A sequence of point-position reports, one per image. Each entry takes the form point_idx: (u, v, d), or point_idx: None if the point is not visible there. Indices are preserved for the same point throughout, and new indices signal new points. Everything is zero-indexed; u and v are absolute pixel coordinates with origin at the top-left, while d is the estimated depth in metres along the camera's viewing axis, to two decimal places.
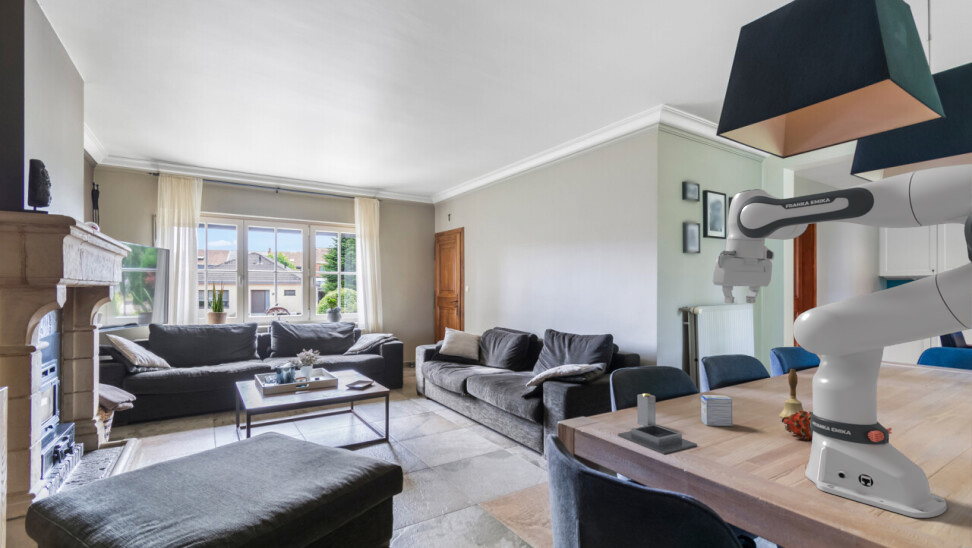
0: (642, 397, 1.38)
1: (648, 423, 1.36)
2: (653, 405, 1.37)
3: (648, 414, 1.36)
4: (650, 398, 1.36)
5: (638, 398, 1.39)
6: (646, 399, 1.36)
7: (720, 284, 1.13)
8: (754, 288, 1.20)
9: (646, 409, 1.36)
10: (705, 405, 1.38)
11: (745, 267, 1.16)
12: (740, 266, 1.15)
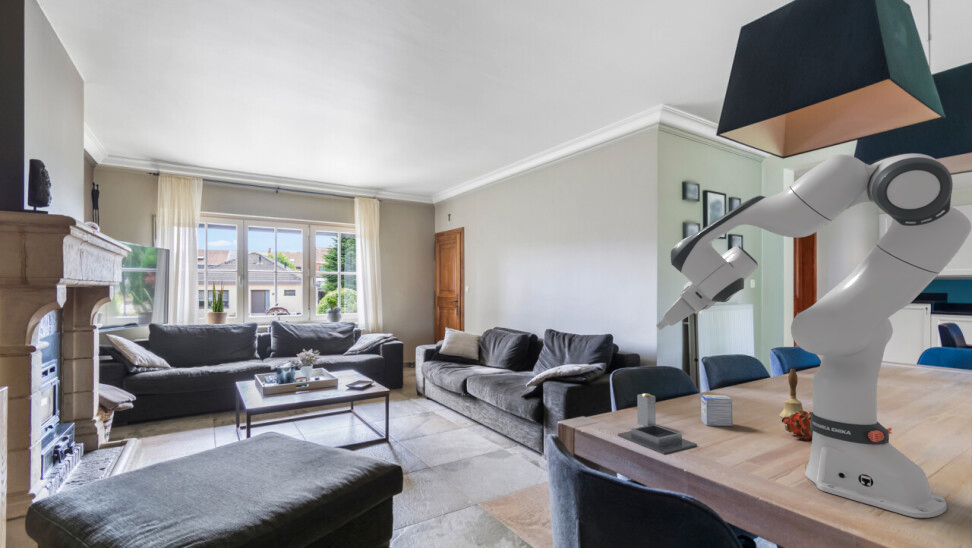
0: (642, 397, 1.38)
1: (648, 423, 1.36)
2: (653, 405, 1.37)
3: (648, 414, 1.36)
4: (650, 398, 1.36)
5: (638, 398, 1.39)
6: (646, 399, 1.36)
7: None
8: None
9: (646, 409, 1.36)
10: (705, 405, 1.38)
11: None
12: None
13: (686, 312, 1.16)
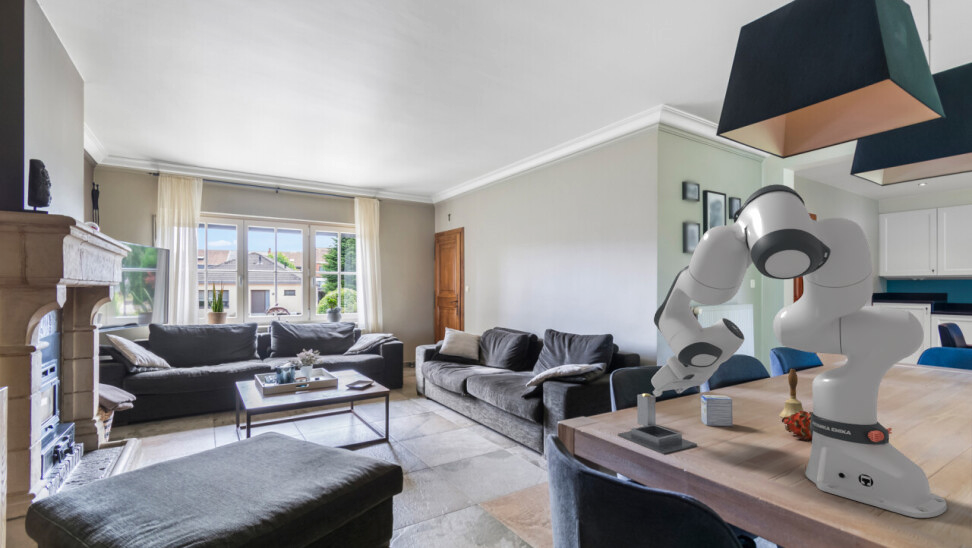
0: (642, 397, 1.38)
1: (648, 423, 1.36)
2: (653, 405, 1.37)
3: (648, 414, 1.36)
4: (650, 398, 1.36)
5: (638, 398, 1.39)
6: (646, 399, 1.36)
7: None
8: None
9: (646, 409, 1.36)
10: (705, 405, 1.38)
11: None
12: None
13: (668, 378, 1.19)
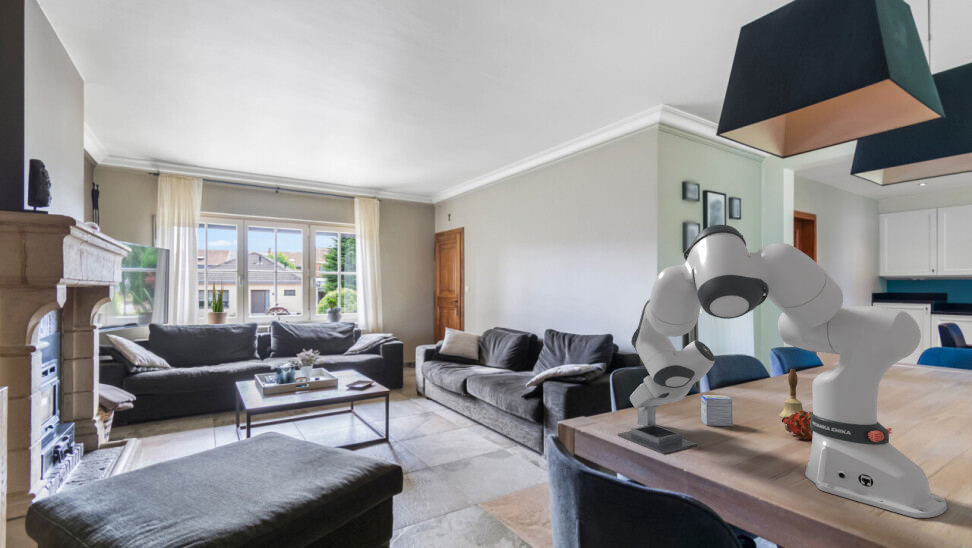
0: None
1: (648, 423, 1.36)
2: None
3: (648, 414, 1.36)
4: None
5: None
6: None
7: None
8: None
9: (646, 409, 1.36)
10: (705, 405, 1.38)
11: None
12: None
13: (645, 396, 1.27)
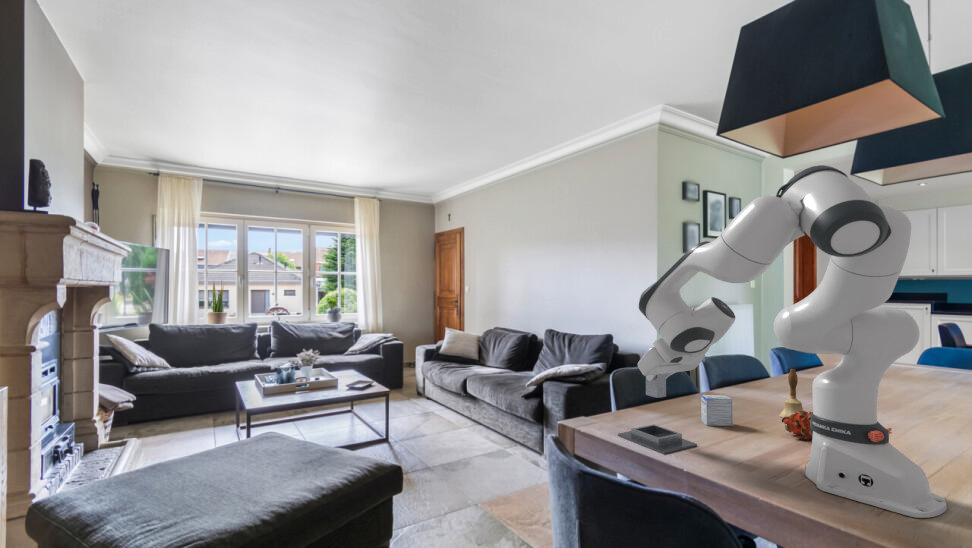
0: None
1: (658, 394, 1.21)
2: (663, 374, 1.23)
3: (657, 384, 1.22)
4: None
5: None
6: None
7: None
8: None
9: None
10: (705, 405, 1.38)
11: None
12: None
13: (655, 361, 1.13)
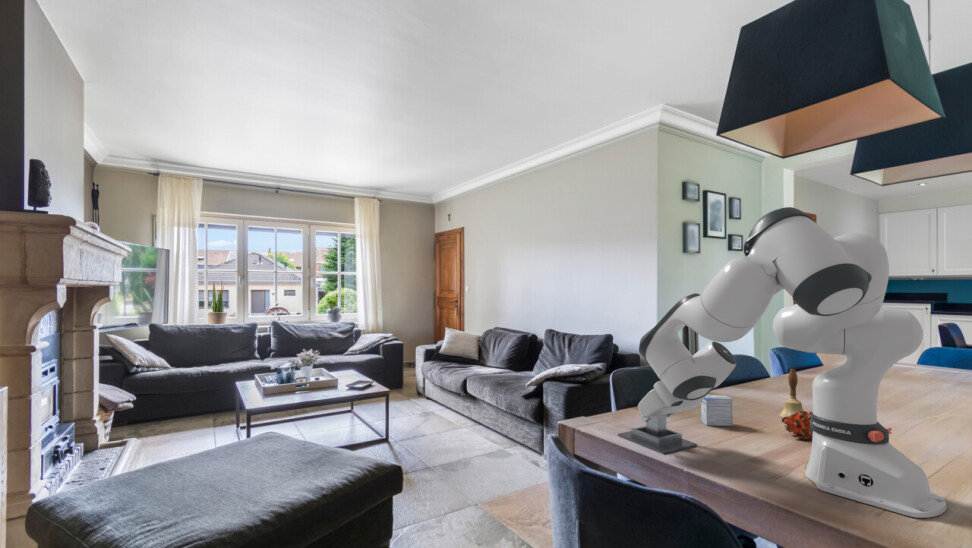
0: None
1: (658, 437, 1.21)
2: (664, 417, 1.22)
3: (658, 427, 1.21)
4: None
5: None
6: None
7: None
8: None
9: (656, 422, 1.21)
10: (705, 405, 1.38)
11: None
12: None
13: (655, 404, 1.12)
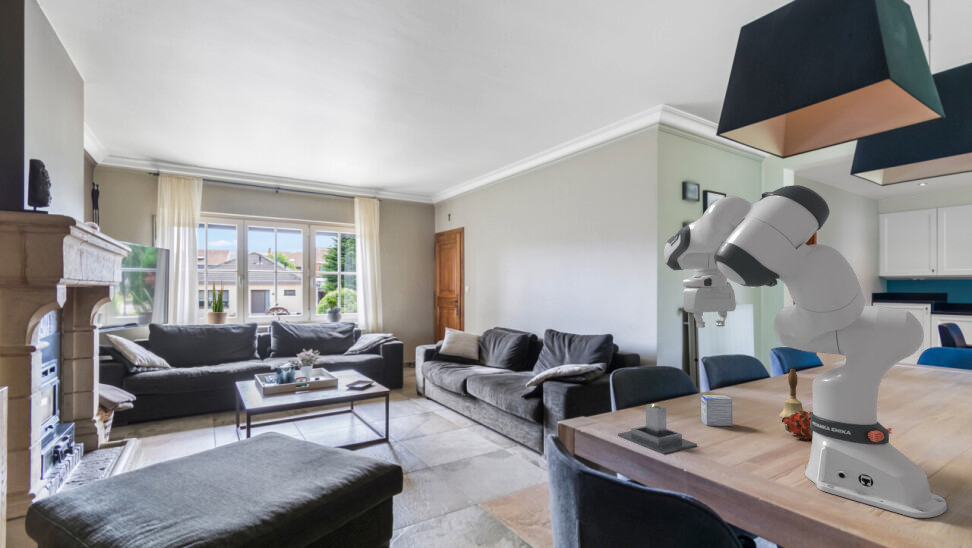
0: (651, 408, 1.23)
1: (658, 437, 1.21)
2: (664, 417, 1.22)
3: (658, 427, 1.21)
4: (660, 409, 1.22)
5: (647, 409, 1.24)
6: (656, 410, 1.21)
7: None
8: None
9: (656, 422, 1.21)
10: (705, 405, 1.38)
11: None
12: None
13: (693, 292, 1.27)
